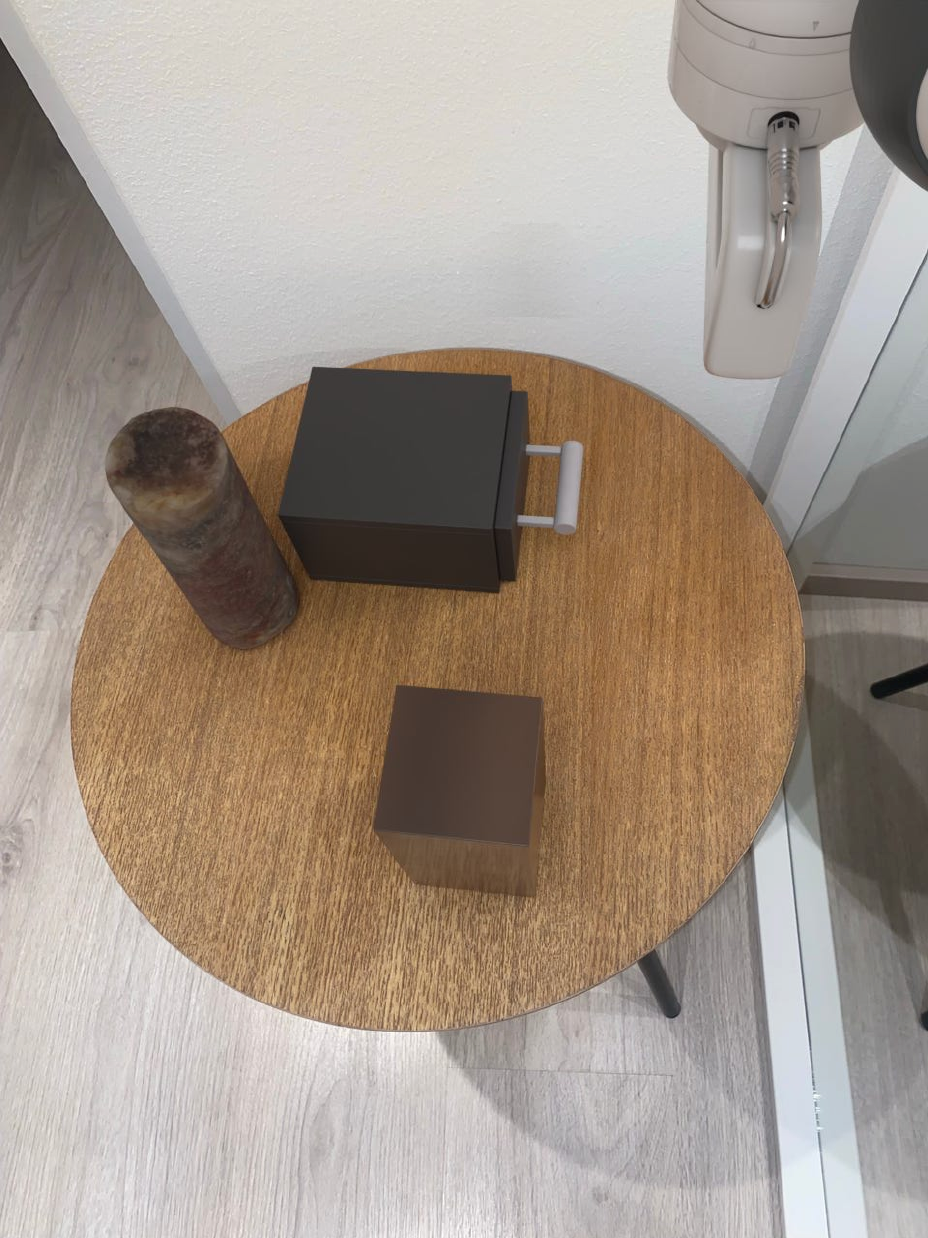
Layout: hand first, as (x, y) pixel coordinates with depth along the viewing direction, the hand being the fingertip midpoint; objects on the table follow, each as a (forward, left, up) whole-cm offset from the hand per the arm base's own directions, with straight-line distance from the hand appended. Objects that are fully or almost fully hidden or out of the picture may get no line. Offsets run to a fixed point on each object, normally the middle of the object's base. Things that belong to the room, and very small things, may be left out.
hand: (728, 290), depth 51 cm
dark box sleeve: (+20, 0, -25) cm, 32 cm away
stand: (+12, +24, -25) cm, 37 cm away
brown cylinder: (+31, +9, -25) cm, 41 cm away
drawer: (+16, 0, -24) cm, 29 cm away
